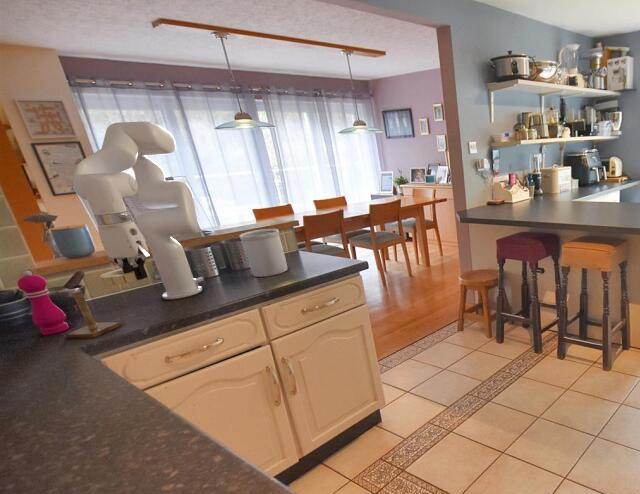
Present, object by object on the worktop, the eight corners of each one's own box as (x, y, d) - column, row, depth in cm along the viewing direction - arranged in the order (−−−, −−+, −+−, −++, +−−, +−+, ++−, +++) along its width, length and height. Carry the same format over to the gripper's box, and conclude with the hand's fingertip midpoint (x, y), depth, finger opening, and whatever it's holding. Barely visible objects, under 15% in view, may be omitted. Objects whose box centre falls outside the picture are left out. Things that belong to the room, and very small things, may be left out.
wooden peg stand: (96, 325, 140) (78, 287, 135) (121, 325, 139) (104, 286, 134) (67, 338, 132) (47, 297, 127) (93, 337, 131) (74, 296, 126)
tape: (125, 274, 140) (122, 266, 139) (156, 273, 139) (153, 266, 138) (93, 285, 130) (90, 277, 129) (126, 284, 129) (123, 277, 128)
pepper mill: (51, 336, 134) (20, 274, 127) (33, 335, 136) (1, 274, 128) (77, 326, 141) (49, 267, 133) (60, 326, 142) (31, 267, 135)
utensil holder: (262, 279, 179) (250, 237, 173) (244, 275, 187) (232, 234, 181) (295, 269, 191) (285, 229, 184) (277, 266, 198) (266, 227, 192)
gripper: (149, 215, 130) (171, 274, 137) (100, 217, 131) (124, 275, 139) (127, 221, 123) (151, 282, 130) (75, 222, 125) (102, 283, 132)
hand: (137, 278), depth 134 cm, fingers closed on tape, 2 cm apart
